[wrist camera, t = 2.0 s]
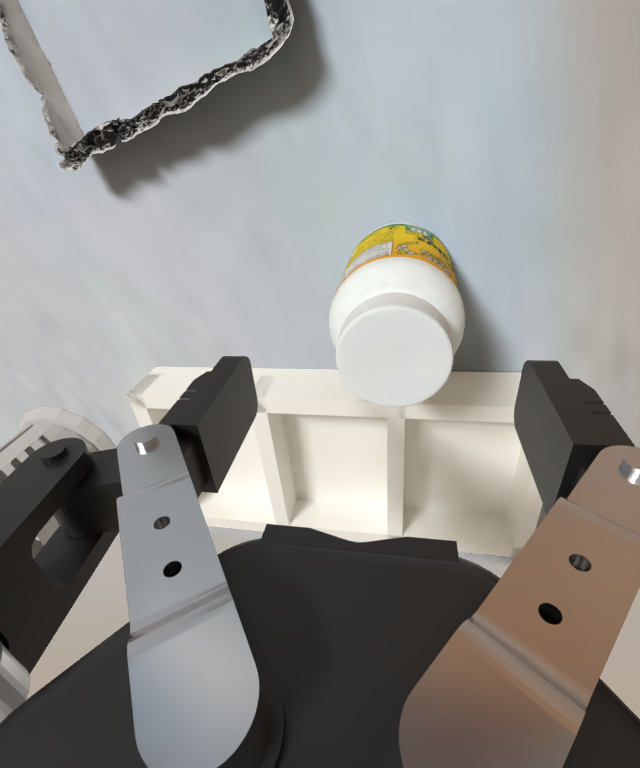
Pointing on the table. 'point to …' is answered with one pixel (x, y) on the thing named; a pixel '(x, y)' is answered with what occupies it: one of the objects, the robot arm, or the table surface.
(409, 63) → the table surface
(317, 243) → the table surface
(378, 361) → the supplement bottle
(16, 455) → the french press
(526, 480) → the rack
